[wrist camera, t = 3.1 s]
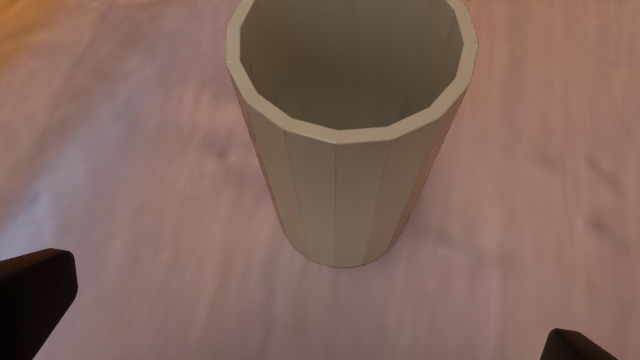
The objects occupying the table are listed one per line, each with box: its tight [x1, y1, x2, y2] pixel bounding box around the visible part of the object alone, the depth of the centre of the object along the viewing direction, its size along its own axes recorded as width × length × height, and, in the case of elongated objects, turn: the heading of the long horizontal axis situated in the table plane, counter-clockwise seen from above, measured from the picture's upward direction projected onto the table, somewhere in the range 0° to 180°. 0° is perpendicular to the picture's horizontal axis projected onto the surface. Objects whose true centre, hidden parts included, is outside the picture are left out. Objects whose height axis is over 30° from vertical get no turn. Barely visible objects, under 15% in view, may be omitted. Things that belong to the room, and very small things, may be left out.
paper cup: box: [225, 0, 479, 268], centre depth 17 cm, size 7×7×12 cm
